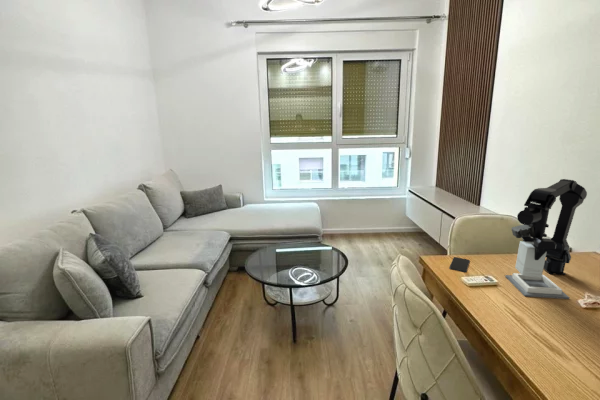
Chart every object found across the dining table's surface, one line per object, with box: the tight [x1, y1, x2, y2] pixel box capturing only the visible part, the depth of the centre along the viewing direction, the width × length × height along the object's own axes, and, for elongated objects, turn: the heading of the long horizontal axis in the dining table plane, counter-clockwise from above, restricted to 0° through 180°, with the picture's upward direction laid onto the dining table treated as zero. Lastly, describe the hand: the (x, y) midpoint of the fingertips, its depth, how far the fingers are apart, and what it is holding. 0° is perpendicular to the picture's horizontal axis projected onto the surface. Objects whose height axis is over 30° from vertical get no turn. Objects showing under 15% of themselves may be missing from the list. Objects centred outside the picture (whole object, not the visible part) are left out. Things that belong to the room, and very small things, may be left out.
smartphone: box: [448, 256, 471, 273], centre depth 153 cm, size 7×1×15 cm
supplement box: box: [514, 240, 547, 277], centre depth 132 cm, size 7×7×13 cm
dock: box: [504, 272, 570, 300], centre depth 132 cm, size 16×16×3 cm
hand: (531, 255), depth 132 cm, fingers closed on supplement box, 7 cm apart
